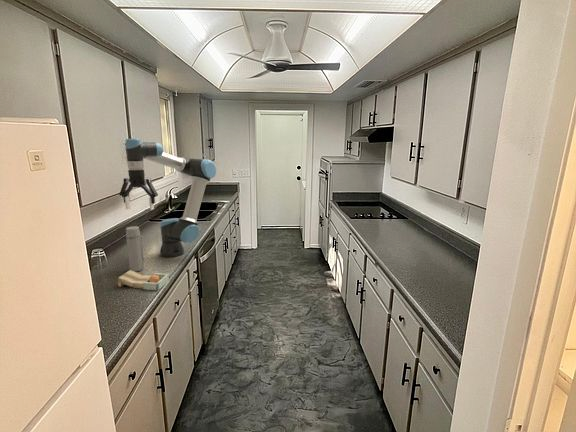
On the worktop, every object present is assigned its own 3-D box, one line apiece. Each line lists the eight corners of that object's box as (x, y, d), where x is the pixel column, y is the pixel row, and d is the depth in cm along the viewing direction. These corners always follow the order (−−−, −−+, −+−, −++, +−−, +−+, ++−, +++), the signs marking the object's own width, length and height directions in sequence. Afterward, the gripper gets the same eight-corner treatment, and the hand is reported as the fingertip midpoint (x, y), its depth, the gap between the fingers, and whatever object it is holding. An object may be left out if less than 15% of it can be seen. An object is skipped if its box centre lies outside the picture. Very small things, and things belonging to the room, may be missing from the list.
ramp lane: (129, 278, 174) (128, 269, 173) (154, 280, 173) (153, 271, 172) (118, 286, 165) (117, 277, 164) (144, 288, 163) (143, 279, 162)
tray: (155, 279, 174) (155, 273, 173) (169, 280, 173) (169, 273, 172) (143, 289, 162) (142, 282, 161) (158, 290, 161) (157, 283, 161)
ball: (151, 281, 171) (153, 272, 170) (160, 283, 170) (161, 274, 169) (146, 284, 166) (147, 275, 165) (155, 287, 165) (156, 278, 164)
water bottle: (128, 273, 181) (123, 230, 175) (131, 267, 189) (126, 226, 183) (146, 271, 184) (142, 229, 178) (148, 266, 191) (144, 225, 185)
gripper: (109, 169, 166) (113, 209, 171) (155, 170, 163) (158, 211, 168) (118, 168, 173) (122, 206, 178) (162, 169, 170) (165, 208, 175)
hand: (140, 209), depth 173 cm, fingers open, 13 cm apart
